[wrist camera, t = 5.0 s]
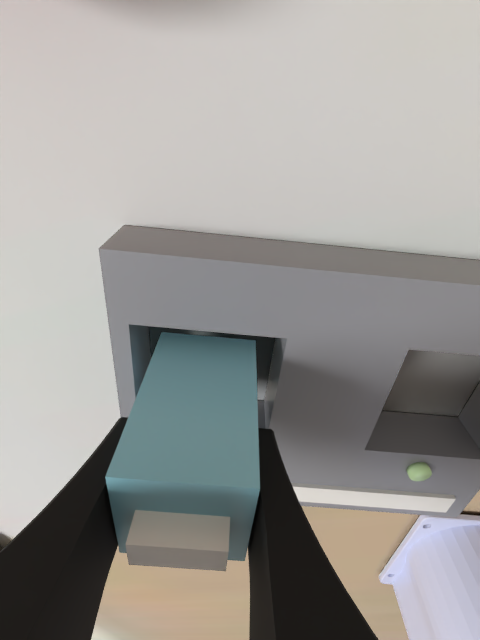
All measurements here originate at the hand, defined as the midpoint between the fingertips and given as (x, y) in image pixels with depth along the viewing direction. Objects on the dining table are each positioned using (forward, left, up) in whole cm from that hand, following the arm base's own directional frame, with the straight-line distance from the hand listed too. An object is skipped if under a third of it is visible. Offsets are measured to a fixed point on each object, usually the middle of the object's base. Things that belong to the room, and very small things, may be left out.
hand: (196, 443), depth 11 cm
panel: (-1, -5, -5) cm, 7 cm away
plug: (0, 0, -3) cm, 3 cm away
